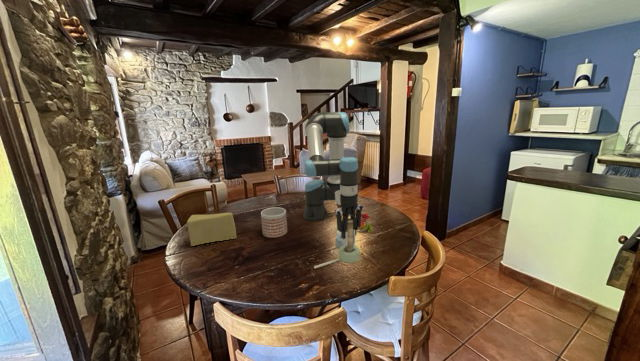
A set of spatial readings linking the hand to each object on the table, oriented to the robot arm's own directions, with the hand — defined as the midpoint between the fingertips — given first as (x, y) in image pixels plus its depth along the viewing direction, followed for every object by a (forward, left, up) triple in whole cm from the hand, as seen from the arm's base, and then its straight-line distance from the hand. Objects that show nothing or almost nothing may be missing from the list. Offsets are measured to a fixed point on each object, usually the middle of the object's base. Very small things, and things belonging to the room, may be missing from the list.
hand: (349, 243), depth 120 cm
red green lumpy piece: (-18, +22, -7) cm, 29 cm away
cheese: (-50, -52, -7) cm, 72 cm away
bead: (0, 0, -7) cm, 7 cm away
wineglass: (-23, +12, -7) cm, 27 cm away
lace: (0, -11, -7) cm, 14 cm away
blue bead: (-11, +5, -7) cm, 14 cm away
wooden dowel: (0, 0, -5) cm, 5 cm away
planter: (-43, -21, -7) cm, 48 cm away
